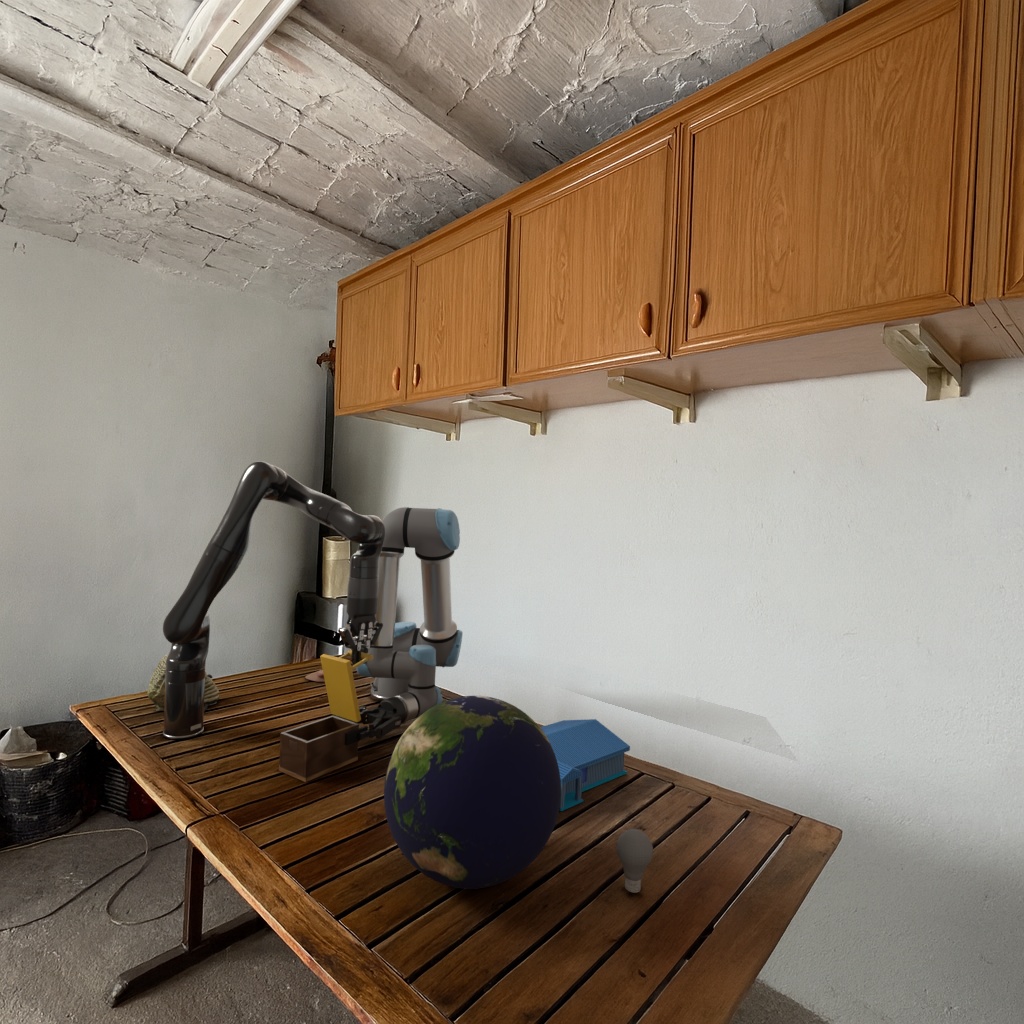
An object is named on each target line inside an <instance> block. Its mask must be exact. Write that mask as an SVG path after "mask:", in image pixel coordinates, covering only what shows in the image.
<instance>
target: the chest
mask: <svg viewBox="0 0 1024 1024" xmlns="http://www.w3.org/2000/svg"><path fill="white" fill-rule="evenodd" d="M359 728H360V723H358V724H357V723H354V722H351V721H348V720H345V719H342V718H339V717H336V716H333V715H330V716H327V717H324V718H321V719H318V720H314V721H312V722H309V723H306V724H303V725H300V726H297V727H294V728H291V729H287V730H285V731H282V732H280V736H279V758H278V759H279V761H278V771H279V772H280V773H283V774H285V775H289V776H290V777H293V778H295V779H297V780H300V781H301V782H304V783H307V782H310V781H312V780H313V779H317V778H319V777H321V776H324V775H326V774H328V773H331V772H333V771H335V770H338V769H340V768H342V767H345V766H347V765H349V764H352V763H354V762H357V761H358V760H359V741H357V742H355V743H352V744H350V745H345V733H348V732H351V731H353V730H356V729H359Z"/></svg>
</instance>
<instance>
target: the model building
mask: <svg viewBox="0 0 1024 1024" xmlns="http://www.w3.org/2000/svg"><path fill="white" fill-rule="evenodd" d="M539 727H540V728H541V729H542V730H543V732H544V733H545V735H546V737H547V738H548V740H549V742H550V744H551V746H552V749H553V751H554V753H555V756H556V760H557V763H558V767H559V771H560V779H561V801H560V808H559V812H563V811H565V810H568V809H570V808H572V807H575V806H577V805H579V804H582V803H584V799H583V798H582V795H583V792H586V791H589V790H591V789H593V788H596V787H598V786H600V785H603V784H605V783H607V782H608V783H609V782H610V781H612V780H615V779H617V778H619V777H621V776H625V775H627V774H628V771H627V770H625V769H624V766H625V753H628V752H629V751H631V746H630V745H629V744H628V743H627V742H625V741H624V740H623V739H621V737H619V736H617V734H615V733H614V732H613V731H611V730H610V729H609V728H608V727H606V726H605V725H604V724H602V723H601V722H600V721H599V720H597V719H596V718H594V719H593V718H592V719H591V718H590V719H564V720H560V721H557V722H552V723H550V724H546V725H542V726H539Z"/></svg>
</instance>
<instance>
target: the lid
mask: <svg viewBox="0 0 1024 1024" xmlns="http://www.w3.org/2000/svg"><path fill="white" fill-rule="evenodd" d="M319 657H320V658H319V659H320V663H321V670H323V674H324V680H325V682H324V684H325V685H324V686H325V689H326V695H327V700H328V705H329V709H330V710H329V711H330V715H332V716H333V715H336V716H339V717H342V718H345V719H348V720H351V721H354V722H359V721H360V720H361V716H360V711H359V707H360V705H359V701H358V695H357V689H356V684H355V683H356V682H355V679H354V678H355V677H354V673H353V671H354V670H355V669H356V668H357V667H359V666H360V665H362V664H363V663H365V662H367V661H368V660H369V661H372V660H373V655H371V654H367V653H363V652H361V659H363V660H361V661H360V662H358V663H356V664H355V665H353V664H352V661H351V659H346V658H347V657H352V650H351V649H350V648H348V649H347V651H346V653H344V654H342V655H340V656H339V657H337V656H333V655H330V654H326V653H323V654H321V655H320V656H319Z"/></svg>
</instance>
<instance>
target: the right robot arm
mask: <svg viewBox="0 0 1024 1024" xmlns="http://www.w3.org/2000/svg"><path fill="white" fill-rule="evenodd" d="M381 520H382V522H383V524H384V528H385V538H384V542H383V546H382V550H381V554H380V557H379V561H378V608H377V613H376V614H375V617H376V621H377V622H379V623H383V627H382V629H381V631H380V634H379V636H378V638H377V640H376V643H375V644H374V645H371V646H370V648H369V649H368V654H371V655H373V660H372V661H369V660H368V661H367V663H366V664H362V665H360V666H359V667H357V668H355V669H356V673H357V675H359V676H360V677H367V678H368V677H369V678H373V679H374V680H373V683H372V684H371V688H370V698H371V699H372V700H374V701H376V702H380V703H379V704H378V706H377V707H372V708H369V709H367V705H361V706H359V711H360V716H361V720H360V721H359V722H354V721H351V720H348V719H345V718H342V717H339V716H336V715H333V714H332V716H336V717H339V718H342V719H345V720H348V721H351V722H354V723H357V724H362V725H363V726H362V727H359V729H356V730H353V731H351V732H348V733H345V745H350V744H352V743H355V742H357V741H358V742H360V741H363V740H365V739H368V738H370V739H371V738H374V737H375V739H376V740H379V739H382V738H383V737H385V736H386V735H388V734H389V733H391V732H393V731H394V730H395V729H398V728H401V725H405V724H407V722H410V721H414V720H416V719H417V718H418V717H419V716H421V715H422V714H423V713H425V712H426V711H427V710H429V709H430V708H432V707H434V706H436V705H438V704H440V703H442V702H443V694H442V690H441V689H440V688H439V687H438V686H437V685H436V673H437V672H436V670H437V668H438V667H439V668H440V667H441V668H453V667H454V668H455V666H457V664H458V662H459V657H460V653H461V648H462V641H463V631H462V630H460V629H458V625H457V623H456V622H455V621H454V620H453V617H452V613H453V612H452V586H451V583H452V582H451V558H452V557H453V556H454V554H455V551H457V550H458V549H459V547H460V543H461V542H460V541H461V535H460V532H461V531H460V530H461V529H460V524H459V518H458V516H457V514H456V512H454V511H453V510H451V509H443V508H423V507H409V506H408V507H407V506H404V507H398V508H395V509H393V510H391V511H390V512H388V513H387V514H386V515H385V516H384V517H383V518H382V519H381ZM406 548H407V549H408V548H409V549H414V554H415V557H416V558H418V559H419V560H420V573H421V574H420V575H421V588H422V605H423V606H422V607H423V622H422V623H421V624H420V626H419V627H417V624H416V622H414V621H413V622H412V621H399V622H396V617H397V605H398V603H397V602H398V591H399V578H400V566H401V564H400V563H401V558H402V557H404V556H405V549H406ZM372 638H373V636H372ZM372 638H371V640H372ZM367 725H368V726H367Z"/></svg>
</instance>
